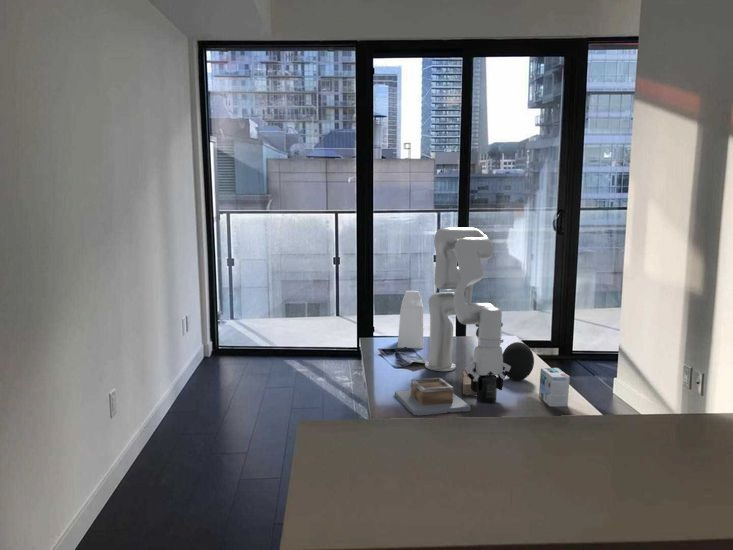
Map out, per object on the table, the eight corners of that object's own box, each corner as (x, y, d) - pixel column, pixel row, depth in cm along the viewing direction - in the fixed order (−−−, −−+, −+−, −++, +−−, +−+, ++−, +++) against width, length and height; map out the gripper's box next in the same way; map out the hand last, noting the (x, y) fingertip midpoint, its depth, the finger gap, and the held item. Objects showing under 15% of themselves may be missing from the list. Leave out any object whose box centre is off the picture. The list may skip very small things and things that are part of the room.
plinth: (410, 394, 211) (411, 379, 210) (439, 392, 214) (440, 377, 213) (422, 405, 200) (422, 389, 200) (452, 402, 204) (453, 387, 203)
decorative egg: (496, 375, 241) (498, 338, 239) (526, 374, 242) (528, 338, 240) (506, 384, 229) (508, 346, 227) (537, 384, 230) (539, 346, 228)
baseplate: (394, 395, 214) (394, 391, 214) (446, 391, 220) (446, 387, 220) (414, 415, 195) (414, 411, 195) (470, 410, 201) (470, 406, 201)
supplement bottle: (497, 398, 213) (499, 366, 212) (494, 405, 207) (496, 371, 205) (477, 396, 215) (479, 363, 214) (474, 402, 209) (476, 369, 207)
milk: (423, 342, 292) (425, 289, 288) (423, 348, 280) (425, 293, 277) (398, 341, 293) (400, 288, 289) (397, 347, 281) (399, 292, 278)
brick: (485, 397, 215) (486, 384, 215) (462, 395, 217) (462, 383, 216) (484, 383, 232) (484, 371, 231) (462, 381, 233) (462, 370, 232)
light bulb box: (538, 396, 217) (540, 367, 215) (556, 396, 217) (558, 367, 216) (549, 406, 206) (551, 376, 205) (568, 406, 207) (570, 376, 205)
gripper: (506, 338, 214) (503, 385, 217) (461, 341, 209) (459, 388, 212) (516, 344, 207) (514, 391, 209) (471, 346, 202) (469, 395, 205)
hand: (486, 390), depth 211 cm, fingers open, 9 cm apart
